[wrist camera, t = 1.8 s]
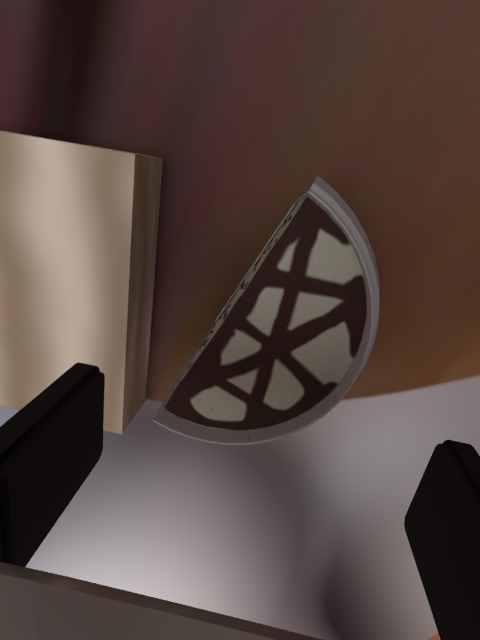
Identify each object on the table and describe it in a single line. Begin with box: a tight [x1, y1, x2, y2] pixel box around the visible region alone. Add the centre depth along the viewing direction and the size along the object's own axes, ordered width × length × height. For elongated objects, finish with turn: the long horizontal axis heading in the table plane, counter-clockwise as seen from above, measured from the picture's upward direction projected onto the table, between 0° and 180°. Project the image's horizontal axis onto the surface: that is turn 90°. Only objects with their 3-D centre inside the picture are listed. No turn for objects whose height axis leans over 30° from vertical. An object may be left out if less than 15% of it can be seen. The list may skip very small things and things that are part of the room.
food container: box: [153, 176, 380, 445], centre depth 19 cm, size 12×6×10 cm, turn 147°
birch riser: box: [0, 130, 163, 434], centre depth 24 cm, size 14×17×4 cm
